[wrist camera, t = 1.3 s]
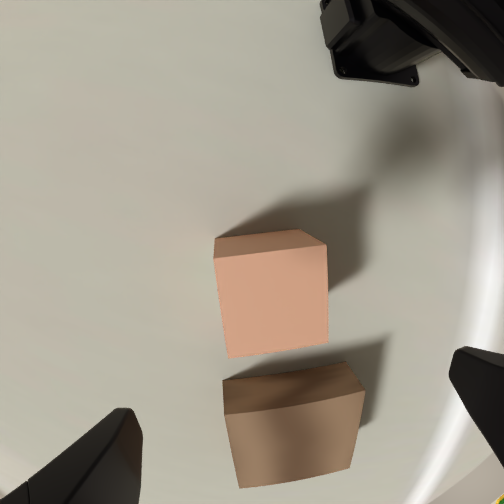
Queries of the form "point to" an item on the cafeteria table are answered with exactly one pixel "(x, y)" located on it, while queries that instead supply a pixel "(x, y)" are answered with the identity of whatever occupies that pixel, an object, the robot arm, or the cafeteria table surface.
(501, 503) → the dish sponge
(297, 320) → the terracotta block
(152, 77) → the cafeteria table surface
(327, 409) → the walnut block
